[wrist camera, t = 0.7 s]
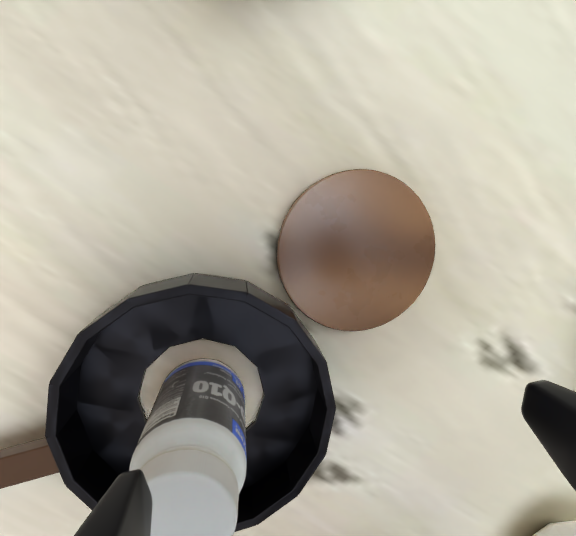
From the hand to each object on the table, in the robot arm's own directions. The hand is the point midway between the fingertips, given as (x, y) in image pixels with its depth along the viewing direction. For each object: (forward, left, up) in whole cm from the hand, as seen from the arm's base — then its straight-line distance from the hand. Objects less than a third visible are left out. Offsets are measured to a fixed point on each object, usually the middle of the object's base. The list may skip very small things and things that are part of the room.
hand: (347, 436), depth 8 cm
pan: (-5, +10, -12) cm, 16 cm away
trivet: (+1, -5, -12) cm, 13 cm away
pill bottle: (-5, +6, -12) cm, 14 cm away
